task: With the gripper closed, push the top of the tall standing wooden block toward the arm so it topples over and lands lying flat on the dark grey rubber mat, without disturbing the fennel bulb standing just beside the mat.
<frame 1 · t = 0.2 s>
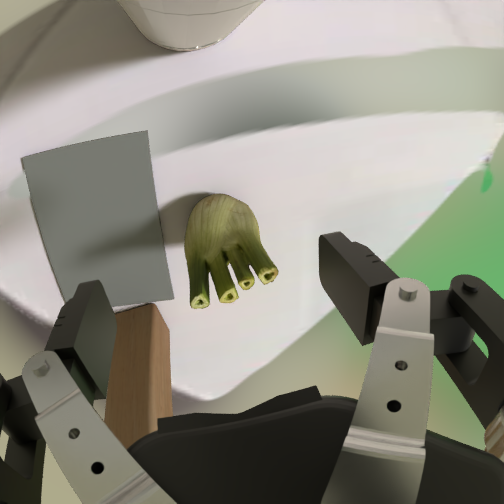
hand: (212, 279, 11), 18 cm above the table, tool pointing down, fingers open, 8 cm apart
wooden block: (127, 325, 34), on the table
mat: (98, 231, 28), on the table
fennel bulb: (215, 212, 30), on the table
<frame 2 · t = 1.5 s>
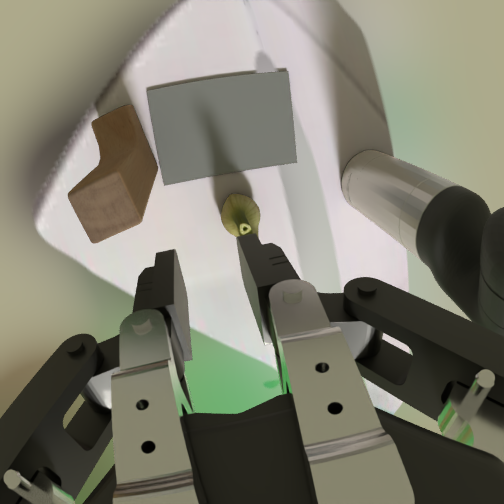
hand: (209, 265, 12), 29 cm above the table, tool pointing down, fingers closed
wooden block: (129, 143, 36), on the table
mat: (224, 125, 37), on the table
fennel bulb: (237, 209, 43), on the table
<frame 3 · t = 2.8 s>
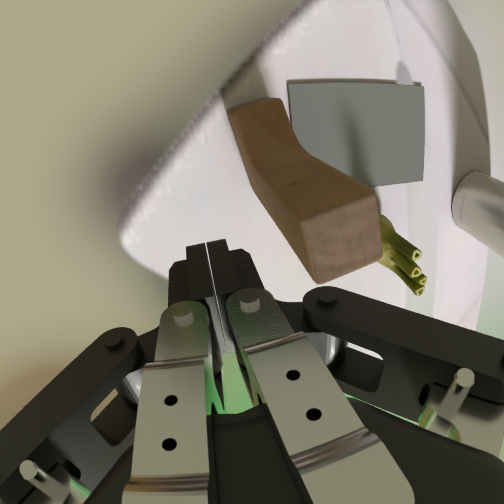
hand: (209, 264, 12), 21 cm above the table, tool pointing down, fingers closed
wooden block: (260, 144, 31), on the table
mat: (365, 135, 33), on the table
fennel bulb: (364, 226, 38), on the table
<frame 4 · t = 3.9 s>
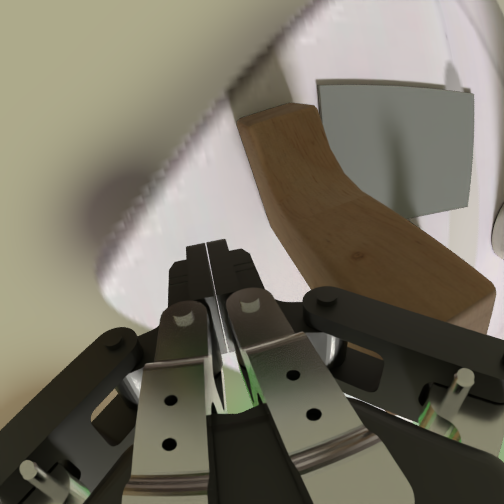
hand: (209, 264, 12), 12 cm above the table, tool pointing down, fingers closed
wooden block: (281, 166, 24), on the table
mat: (409, 154, 25), on the table
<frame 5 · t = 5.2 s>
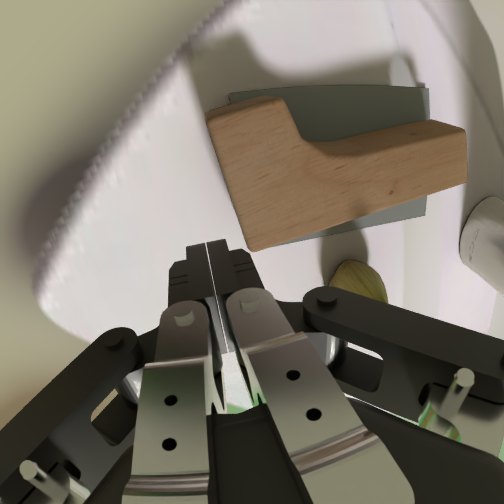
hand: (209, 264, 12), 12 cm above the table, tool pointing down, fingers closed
wooden block: (222, 182, 21), point 2 cm above the table, touching mat
mat: (346, 160, 24), on the table
fennel bulb: (346, 277, 30), on the table
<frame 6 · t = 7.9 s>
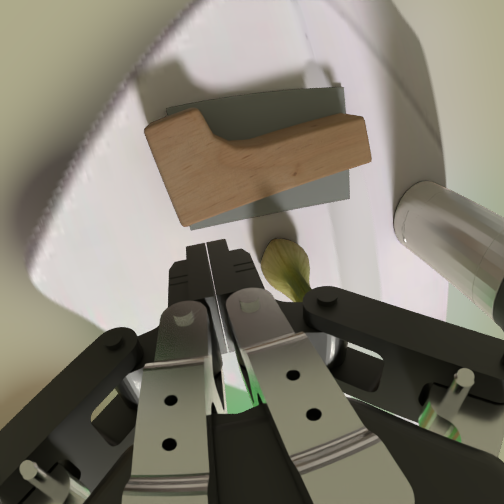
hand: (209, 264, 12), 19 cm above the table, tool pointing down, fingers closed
wooden block: (161, 175, 26), point 3 cm above the table, touching mat
mat: (266, 154, 30), on the table
fennel bulb: (279, 254, 36), on the table
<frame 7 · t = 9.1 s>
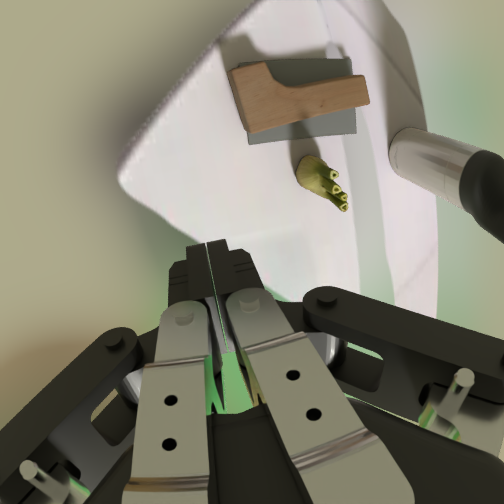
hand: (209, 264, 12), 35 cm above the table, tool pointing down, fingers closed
wooden block: (236, 102, 39), point 3 cm above the table, touching mat
mat: (301, 98, 43), on the table
fennel bulb: (307, 169, 49), on the table
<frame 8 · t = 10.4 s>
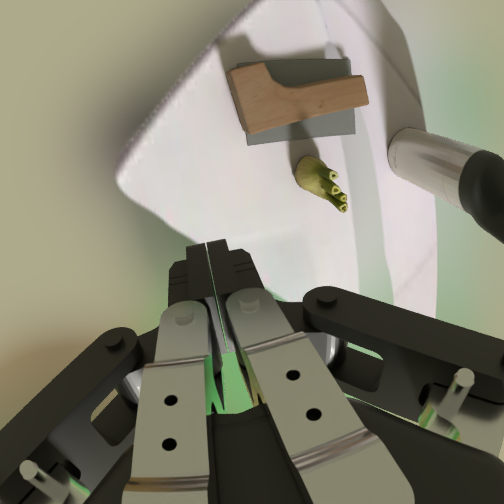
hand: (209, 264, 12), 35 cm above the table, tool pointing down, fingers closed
wooden block: (235, 102, 39), point 3 cm above the table, touching mat
mat: (300, 98, 43), on the table
fennel bulb: (306, 170, 49), on the table
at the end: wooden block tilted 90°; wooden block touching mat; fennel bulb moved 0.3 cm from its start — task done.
